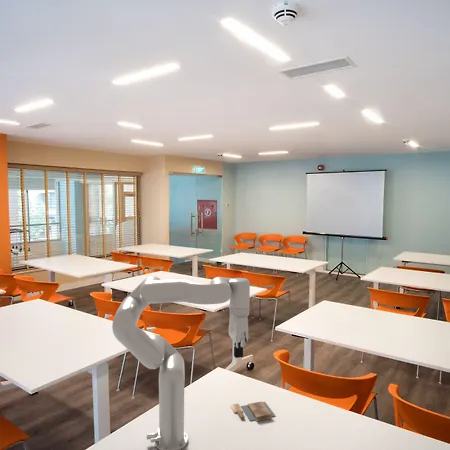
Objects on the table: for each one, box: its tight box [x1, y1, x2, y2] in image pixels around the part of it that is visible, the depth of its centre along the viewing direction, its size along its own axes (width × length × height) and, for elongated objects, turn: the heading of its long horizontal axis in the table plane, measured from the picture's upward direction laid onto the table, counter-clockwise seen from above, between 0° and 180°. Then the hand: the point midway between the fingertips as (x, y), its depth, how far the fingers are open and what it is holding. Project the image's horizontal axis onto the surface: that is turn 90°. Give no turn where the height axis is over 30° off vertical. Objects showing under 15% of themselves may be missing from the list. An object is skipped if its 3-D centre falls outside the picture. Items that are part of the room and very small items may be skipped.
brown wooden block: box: [247, 401, 272, 422], centre depth 158 cm, size 7×2×10 cm
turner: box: [229, 403, 246, 421], centre depth 159 cm, size 4×11×1 cm, turn 18°
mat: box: [240, 401, 276, 422], centre depth 160 cm, size 12×11×1 cm
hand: (238, 356), depth 140 cm, fingers closed
